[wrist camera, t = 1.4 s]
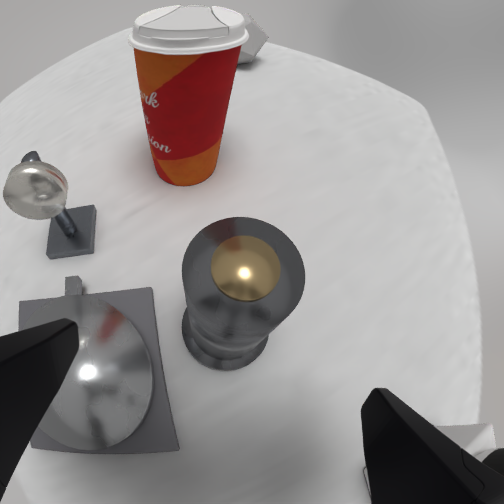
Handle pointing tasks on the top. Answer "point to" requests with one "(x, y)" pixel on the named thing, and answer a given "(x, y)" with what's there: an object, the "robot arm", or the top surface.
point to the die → (251, 40)
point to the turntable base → (159, 415)
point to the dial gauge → (50, 206)
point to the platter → (97, 374)
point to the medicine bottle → (474, 444)
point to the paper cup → (186, 84)
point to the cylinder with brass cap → (238, 290)
